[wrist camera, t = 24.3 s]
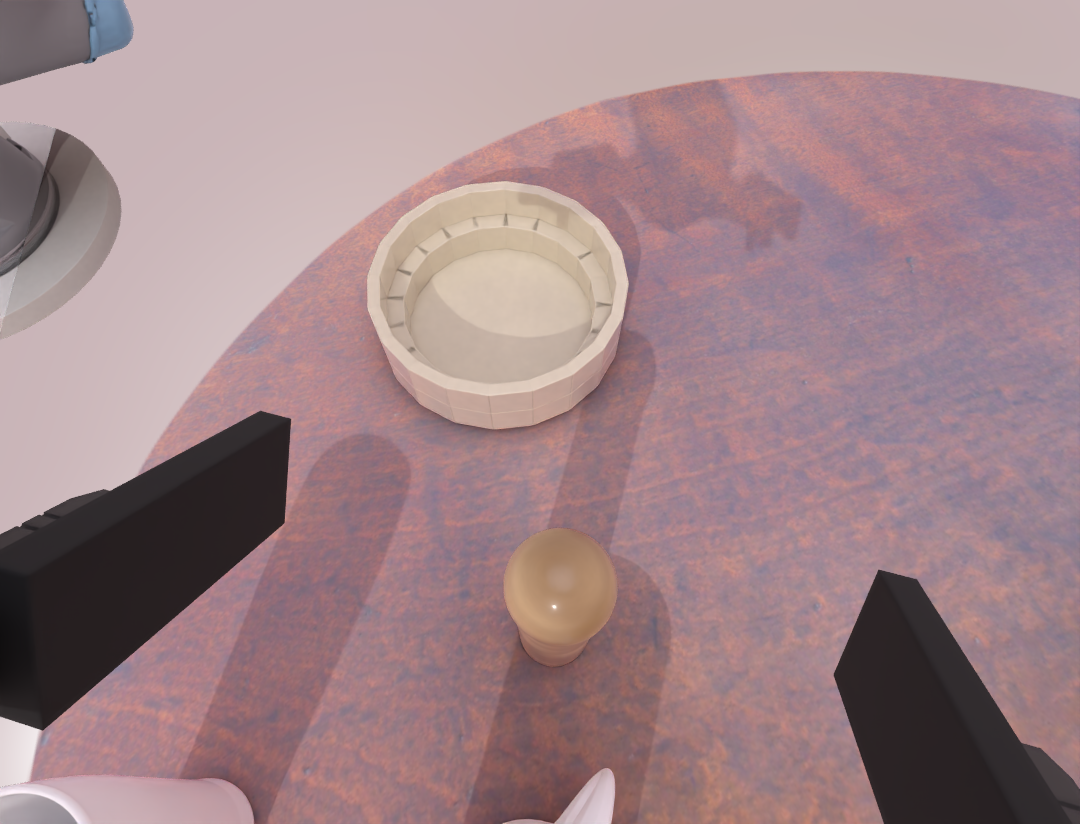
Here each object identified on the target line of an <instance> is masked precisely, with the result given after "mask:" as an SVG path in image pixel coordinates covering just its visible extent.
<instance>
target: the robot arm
mask: <svg viewBox="0 0 1080 824" xmlns="http://www.w3.org/2000/svg"><path fill="white" fill-rule="evenodd" d="M132 36H133V23H132V21H131V18H130V15H129V13H128V10H127V8H126V5H125V3H124V1H123V0H0V85H3V84H6V83H10V82H13V81H17V80H21V79H24V78H27V77H31V76H34V75H38V74H41V73H45V72H48V71H51V70H55V69H59V68H63V67H67V66H70V65H74V64H78V63H81V62H82V63H85V64H87V63H92V62H94V61H95V60H96V59H97V57H99V56H102V55H105V54H108V53H111V52H113V51H116V50H119V49H122V48H124V47H125V46H127V45H128V44H129V42H130V41H131V39H132ZM59 206H60V194H59V189H58V186H57V183H56V181H55V179H54V178H53V176H52V175H51V173H50V172H49V171H48V170H47V169H46V168H45V166H44V165H43V164H42V163H41V162H40V161H39V160H38V159H37V158H36V157H35V156H34V155H33V154H31V153H30V152H29V151H28V150H27V149H26V148H24V147H23V146H21V145H20V144H18V143H17V142H15V141H13V140H11V137H10V136H9V135H8V134H7V133H6V131H5V130H4V129H3V128H2V127H1V126H0V277H1V276H2V275H4V274H6V273H8V272H9V271H11V270H12V269H14V268H15V267H16V266H18V265H19V264H20V263H22V262H23V261H24V260H25V259H27V258H28V257H29V256H30V255H31V254H32V253H33V252H34V251H35V250H36V249H37V248H38V247H39V246H40V245H41V243H42V242H43V241H44V240H45V238H46V237H47V235H48V234H49V232H50V230H51V229H52V227H53V225H54V223H55V220H56V218H57V215H58V211H59ZM290 427H291V419H290V418H286V417H282V416H278V415H274V414H270V413H266V412H262V411H259V412H257V413H255V414H254V415H252V416H250V417H248V418H246V419H244V420H242V421H240V422H239V423H237V424H235V425H233V426H231V427H229V428H227V429H225V430H224V431H222V432H220V433H218V434H216V435H214V436H212V437H210V438H209V439H207V440H205V441H203V442H201V443H199V444H197V445H195V446H194V447H192V448H190V449H188V450H186V451H184V452H182V453H180V454H179V455H177V456H175V457H173V458H171V459H169V460H167V461H165V462H164V463H162V464H160V465H158V466H156V467H154V468H152V469H150V470H149V471H147V472H145V473H143V474H141V475H139V476H137V477H135V478H134V479H132V480H130V481H128V482H126V483H124V484H122V485H121V486H119V487H117V488H115V489H113V490H111V491H108V490H104V489H103V490H100V491H96V492H92V493H89V494H85V495H82V496H78V497H75V498H71V499H69V500H67V501H65V502H63V503H61V504H59V505H57V506H55V507H53V508H51V509H49V510H47V511H46V512H44V515H42V516H41V515H38V516H36V517H34V518H32V519H30V520H28V521H26V522H24V523H22V526H21V527H18V526H16V527H14V528H12V529H10V530H8V531H6V532H4V533H2V534H0V717H3V718H6V719H9V720H12V721H15V722H19V723H22V724H25V725H28V726H31V727H34V728H37V729H40V730H44V729H45V728H46V727H48V726H49V725H50V724H51V723H52V722H53V721H55V720H56V719H57V718H58V717H59V716H60V715H62V714H63V713H64V712H65V711H66V710H67V709H69V708H70V707H71V706H72V705H73V704H74V703H75V702H77V701H78V700H79V699H80V698H81V697H82V696H84V695H85V694H86V693H87V692H88V691H89V690H91V689H92V688H93V687H94V686H95V685H96V684H98V683H99V682H100V681H101V680H102V679H103V678H105V677H106V676H107V675H108V674H109V673H110V672H112V671H113V670H114V669H115V668H116V667H117V666H119V665H120V664H121V663H122V662H123V661H124V660H126V659H127V658H128V657H129V656H130V655H131V654H133V653H134V652H135V651H136V650H137V649H138V648H140V647H141V646H142V645H143V644H144V643H145V642H147V641H148V640H149V639H150V638H151V637H152V636H154V635H155V634H156V633H157V632H158V631H159V630H161V629H162V628H163V627H164V626H165V625H166V624H168V623H169V622H170V621H171V620H172V619H173V618H175V617H176V616H177V615H178V614H179V613H180V612H182V611H183V610H184V609H185V608H186V607H187V606H189V605H190V604H191V603H192V602H193V601H194V600H196V599H197V598H198V597H199V596H200V595H201V594H203V593H204V592H205V591H206V590H207V589H208V588H210V587H211V586H212V585H213V584H214V583H215V582H217V581H218V580H219V579H220V578H221V577H222V576H224V575H225V574H226V573H227V572H228V571H229V570H230V569H232V568H233V567H234V566H235V565H236V564H237V563H239V562H240V561H241V560H242V559H243V558H244V557H246V556H247V555H248V554H249V553H250V552H251V551H253V550H254V549H255V548H256V547H257V546H258V545H260V544H261V543H262V542H263V541H264V540H265V539H267V538H268V537H269V536H270V535H271V534H272V533H274V532H275V531H276V530H277V529H278V528H279V527H281V526H282V525H283V524H284V523H285V507H286V491H287V475H288V459H289V443H290ZM834 677H835V680H836V683H837V686H838V689H839V692H840V695H841V698H842V701H843V704H844V707H845V710H846V713H847V716H848V719H849V722H850V725H851V728H852V730H853V733H854V736H855V739H856V742H857V745H858V748H859V751H860V754H861V757H862V760H863V763H864V766H865V769H866V772H867V775H868V778H869V781H870V784H871V787H872V789H873V792H874V795H875V798H876V801H877V804H878V807H879V810H880V813H881V816H882V819H883V822H884V824H1080V789H1079V788H1078V786H1077V785H1076V783H1075V782H1074V780H1073V779H1072V778H1071V777H1070V776H1069V775H1068V774H1067V773H1066V772H1065V771H1064V770H1063V769H1062V768H1061V767H1059V766H1058V765H1057V764H1056V763H1055V762H1054V761H1053V760H1052V759H1051V758H1050V757H1049V756H1048V755H1047V754H1046V753H1045V752H1044V751H1043V750H1042V749H1041V748H1037V747H1034V746H1030V745H1027V744H1023V743H1021V742H1020V741H1019V739H1018V737H1017V736H1016V734H1015V733H1014V731H1013V730H1012V728H1011V726H1010V725H1009V723H1008V722H1007V720H1006V719H1005V717H1004V715H1003V714H1002V712H1001V711H1000V709H999V708H998V706H997V704H996V703H995V701H994V700H993V698H992V697H991V695H990V693H989V692H988V690H987V689H986V687H985V686H984V684H983V683H982V681H981V679H980V678H979V676H978V675H977V673H976V672H975V670H974V668H973V667H972V665H971V664H970V662H969V661H968V659H967V657H966V656H965V654H964V653H963V651H962V650H961V648H960V646H959V645H958V643H957V642H956V640H955V639H954V637H953V635H952V634H951V632H950V631H949V629H948V628H947V626H946V624H945V623H944V621H943V620H942V618H941V617H940V615H939V613H938V612H937V610H936V609H935V607H934V606H933V604H932V603H931V601H930V599H929V598H928V596H927V595H926V593H925V592H924V590H923V588H922V587H921V585H920V584H919V582H918V581H917V579H913V578H909V577H905V576H901V575H897V574H894V573H890V572H886V571H882V570H878V572H877V575H876V577H875V579H874V582H873V584H872V586H871V589H870V591H869V593H868V596H867V598H866V600H865V603H864V605H863V607H862V610H861V612H860V614H859V617H858V619H857V621H856V624H855V626H854V628H853V631H852V633H851V635H850V638H849V640H848V642H847V645H846V647H845V649H844V652H843V654H842V656H841V659H840V661H839V663H838V666H837V668H836V670H835V673H834Z"/></svg>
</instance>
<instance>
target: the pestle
mask: <svg viewBox="0 0 1080 824" xmlns="http://www.w3.org/2000/svg"><path fill="white" fill-rule="evenodd" d="M503 590H504V598H505V603H506V606H507V609H508V611H509V613H510V615H511V617H512V619H513V620H514V622H515V623H516V624H517V625H518V630H519V635H520V640H521V643H522V645H523V648H524V649H525V651H526V652H527V654H528V655H529V656H530V657H531V658H532V659H534V660H535V661H536V662H538V663H540V664H543V665H546V666H553V667H555V666H563V665H566V664H568V663H570V662H572V661H573V660H575V659H576V658H577V657H578V656H579V655H580V654H581V652H582V651H583V649H584V647H585V646H586V644H587V642H588V640H589V638H591V637H592V636H594V635H595V634H596V633H598V632H599V631H600V630H601V629H602V628H603V627H604V625H605V624H606V623H607V621H608V620H609V618H610V617H611V615H612V612H613V610H614V607H615V604H616V600H617V594H618V581H617V575H616V571H615V568H614V565H613V563H612V561H611V559H610V557H609V555H608V554H607V552H606V551H605V549H604V548H603V547H602V546H601V545H600V544H599V543H598V542H597V541H596V540H594V539H593V538H592V537H590V536H588V535H587V534H585V533H583V532H580V531H577V530H574V529H569V528H552V529H546V530H543V531H540V532H538V533H536V534H534V535H532V536H531V537H529V538H527V539H526V540H525V541H524V542H523V543H522V544H521V545H520V546H519V547H518V548H517V549H516V550H515V552H514V553H513V555H512V556H511V558H510V560H509V562H508V565H507V567H506V571H505V575H504V583H503Z"/></svg>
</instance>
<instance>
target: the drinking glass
mask: <svg viewBox="0 0 1080 824" xmlns="http://www.w3.org/2000/svg"><path fill="white" fill-rule="evenodd" d="M0 824H254V816H253V811H252V808H251V805H250V803H249V801H248V799H247V797H246V796H245V794H244V793H243V792H242V791H241V790H240V789H239V788H238V787H237V786H235V785H234V784H232V783H230V782H228V781H225V780H222V779H217V778H203V779H196V780H191V779H170V778H154V777H139V776H125V775H104V774H96V775H76V776H65V777H56V778H49V779H43V780H37V781H31V782H25V783H20V784H14V785H8V786H4V787H0Z"/></svg>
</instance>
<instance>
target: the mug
mask: <svg viewBox="0 0 1080 824" xmlns="http://www.w3.org/2000/svg"><path fill="white" fill-rule="evenodd" d="M614 799H615V780H614V775H613V773H612V771H611V770H610V769H608V768H604V769H602V770H600V771H599V772H598V773H596V774H595V775H594V776H593V777H592V778H591V779H590V780H589V781H588V782H587V783H586V785H585V786H584V787H583V788H582V789H581V790H580V792H579V793H578V794H577V795H576V797H575V798H574V799H573V801H572V802H571V803H570V804H569V806H568V807H567V808H566V810H565V811H564V812H563V813H562V815H561V816H560V817H559V819H558V820H557V821H556V822H555V823H554V824H611V821H612V815H613V808H614ZM502 824H552V823H549V822H545V821H541V820H534V819H518V820H513V821H509V822H505V823H502Z"/></svg>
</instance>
